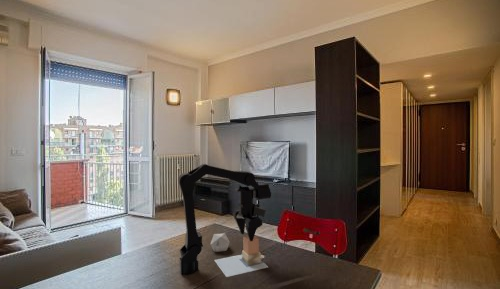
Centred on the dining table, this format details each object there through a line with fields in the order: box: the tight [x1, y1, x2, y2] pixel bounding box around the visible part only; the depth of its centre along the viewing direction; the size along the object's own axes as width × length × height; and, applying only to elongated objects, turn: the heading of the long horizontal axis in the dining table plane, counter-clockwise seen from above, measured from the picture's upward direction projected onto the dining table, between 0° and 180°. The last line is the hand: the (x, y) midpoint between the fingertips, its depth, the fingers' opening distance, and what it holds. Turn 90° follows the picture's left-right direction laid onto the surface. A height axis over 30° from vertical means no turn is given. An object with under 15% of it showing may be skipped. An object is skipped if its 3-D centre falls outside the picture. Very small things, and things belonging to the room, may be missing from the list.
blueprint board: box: [214, 254, 269, 278], centre depth 110 cm, size 18×16×1 cm
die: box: [210, 232, 231, 253], centre depth 125 cm, size 8×9×10 cm
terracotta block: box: [242, 235, 260, 255], centre depth 112 cm, size 5×5×6 cm
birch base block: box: [241, 250, 262, 265], centre depth 112 cm, size 6×6×4 cm
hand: (246, 237), depth 113 cm, fingers open, 9 cm apart
